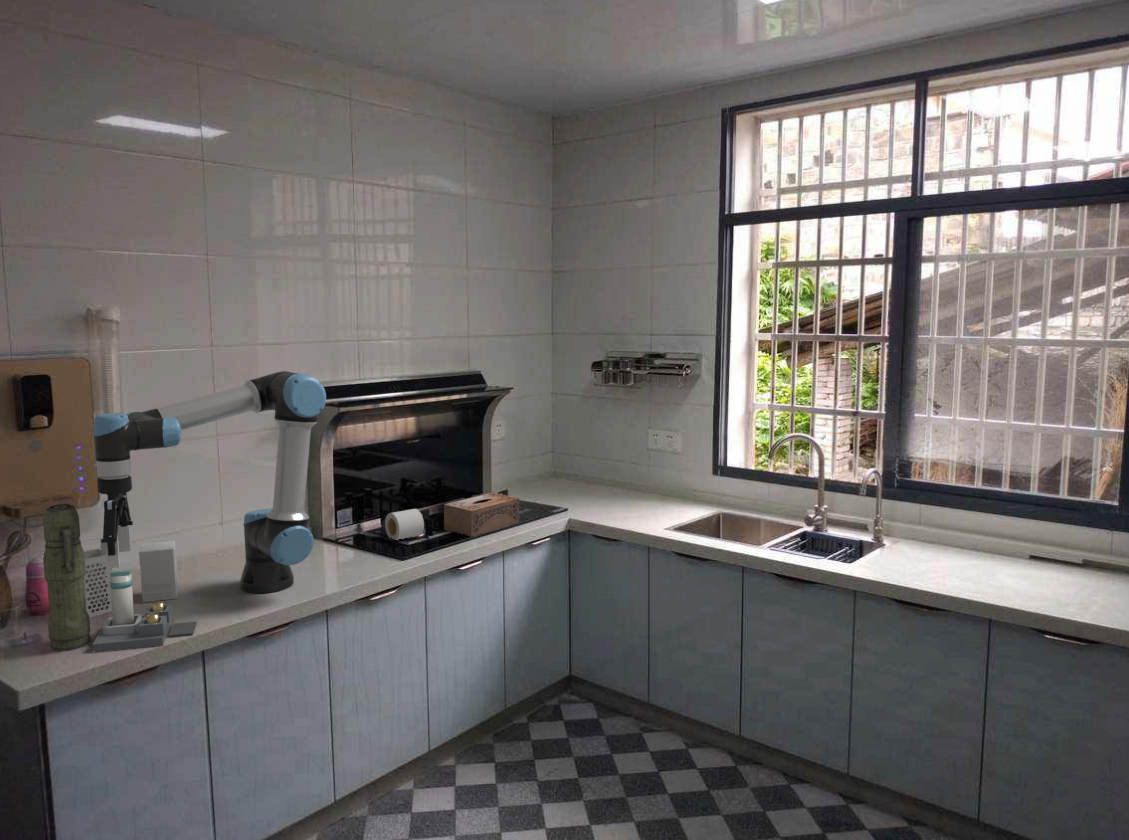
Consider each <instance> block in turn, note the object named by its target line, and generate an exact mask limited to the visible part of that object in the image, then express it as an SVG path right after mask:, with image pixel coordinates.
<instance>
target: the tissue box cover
mask: <svg viewBox="0 0 1129 840" xmlns="http://www.w3.org/2000/svg"><path fill="white" fill-rule="evenodd" d="M516 523H517V524H519V523H520V498H519V497H515V496H511V495H505V494H500V493H495V492H487V493H484V494H480V495H477V496H472V497H468V498H464V499H461V500H460V499H459V500H457V501H452V502H448V503H444V504H443V526H444V527H443V530H444V531H448V532H451V531H453V532H452V533H455V532H457V533H456V534H459V533H460V534H459V535H463V534H465V535H464V536H466V535H467V537H470V538H472V537H476V536H480V535H483V534H486V533H490V532H493V531H496V530H499V529H504V528H506V527H509V526H513V525H517V524H516Z"/></svg>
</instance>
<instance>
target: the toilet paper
mask: <svg viewBox="0 0 1129 840" xmlns="http://www.w3.org/2000/svg"><path fill="white" fill-rule="evenodd" d="M384 525H385V526H384V529H385V531H386V535H387V537H388V538H389V539H390V538H392V539H395V540H397V541H400V540H399V539H402V540H406V539H405V538H407V539H411V538H410V537H412V538H416V537H415V536H417V537H420V536H422V535H423V533H424V528H425V521H424V518H423V515H422V513H421V512H420V510H418V509H417V508H411V509H405V510H401V511H400V510H399V511H395V512H394V511H393V512H389V513H387V515H386V517H385V520H384Z"/></svg>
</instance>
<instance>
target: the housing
mask: <svg viewBox="0 0 1129 840" xmlns="http://www.w3.org/2000/svg"><path fill="white" fill-rule="evenodd" d="M172 605H173V603H168V604H167V603H166V604H165V603H164V611H152V605H148V606H147V608H146V610H145V612H144V613H143V614H140V613H134V624H128V625H117V626H113V616H110V617H108V618H107V619H106V621H105V622H104V624H103V626H102V628H101V630H100V631H99V632H98V634H97V636H96V637H95V639H94V640H93V642H92V645H91V646H92V652H93V651H100V652H109V651H108V650H111V651H119V650H118V649H121V650H128V649H127V648H131V649H140V648H151V647H152V648H153V647H160V646H161V647H162V646H164V644H165V642H166V640H165V639H167V637H168V636H169V633H170V631H171V628H172V626H173V623H174V617H173V606H172ZM150 613H158V614H159V623H149V624H147V622H146V615H147V614H150ZM172 622H173V623H172ZM139 647H140V648H139Z"/></svg>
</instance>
